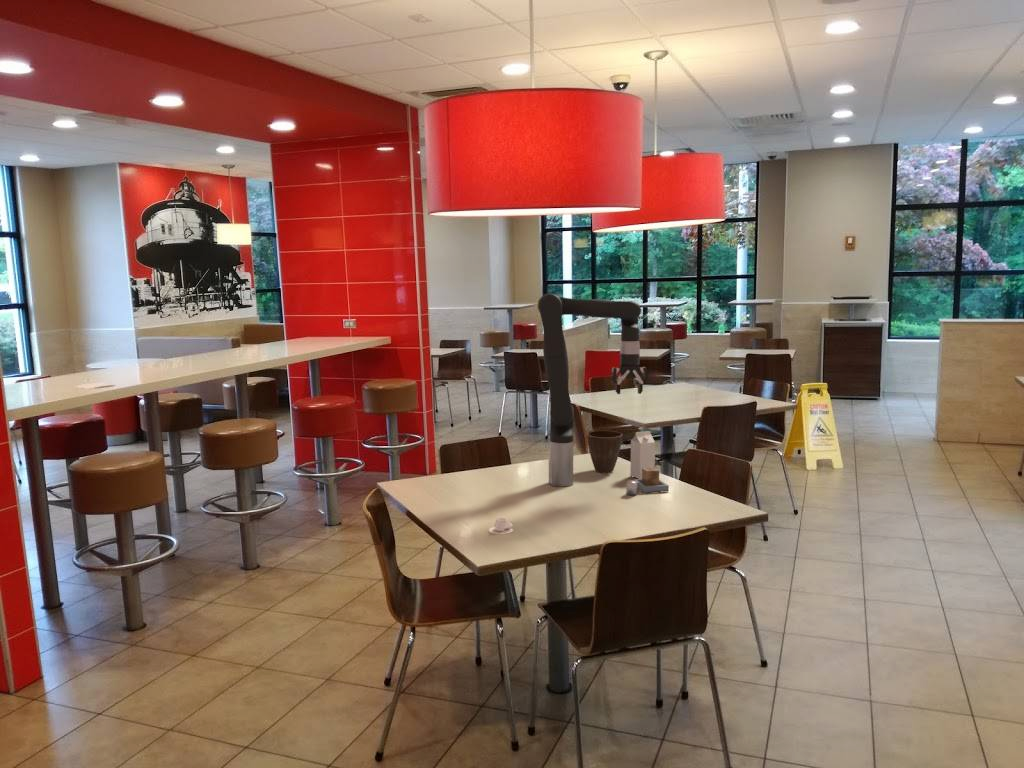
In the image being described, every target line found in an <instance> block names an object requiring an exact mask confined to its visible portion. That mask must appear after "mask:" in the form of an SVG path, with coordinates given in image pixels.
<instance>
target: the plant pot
mask: <svg viewBox="0 0 1024 768" xmlns="http://www.w3.org/2000/svg"><path fill="white" fill-rule="evenodd" d="M586 438H587V440H586V441H587V445H588V450H589V451H588V452H589V454H590V458H591V462H592V465H593V468H594V470H595V472H596V473H600V474H608V473H609V472H610V473H612V471H614V470H615V467H616V464H617V462H618V459H619V454H620V451H621V445H622V440H623V433H621V432H618V431H613V430H593V431H589V432H587V433H586ZM610 473H609V474H610Z"/></svg>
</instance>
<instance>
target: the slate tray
mask: <svg viewBox="0 0 1024 768" xmlns="http://www.w3.org/2000/svg"><path fill="white" fill-rule="evenodd" d="M632 481H637V488H638V489H639V490H638V489H637V490H638V491H640V490H641V491H642V492H641V491H640V492H641V493H643V494H651V493H650V492H659V493H662V492H661V491H669V489H670V488H669V487H670V486H669V485H668V484H667V483H665V482H664V481H663V480H661V479H659V485H657V486H644V485H643V484H642V479H636V478H635V479H633V480H632ZM669 492H670V491H669Z"/></svg>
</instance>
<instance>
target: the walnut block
mask: <svg viewBox="0 0 1024 768" xmlns="http://www.w3.org/2000/svg"><path fill="white" fill-rule="evenodd" d="M659 480H660V470H659V469H657V468H656V467H655V468H642V484H643V485H644V486H657V485H659Z"/></svg>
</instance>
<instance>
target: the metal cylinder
mask: <svg viewBox="0 0 1024 768" xmlns="http://www.w3.org/2000/svg"><path fill="white" fill-rule="evenodd" d="M625 494H626V496H628V495H629V496H628V497H636V495H637V496H638V489H637V481H633V480H627V481H626V493H625Z"/></svg>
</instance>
